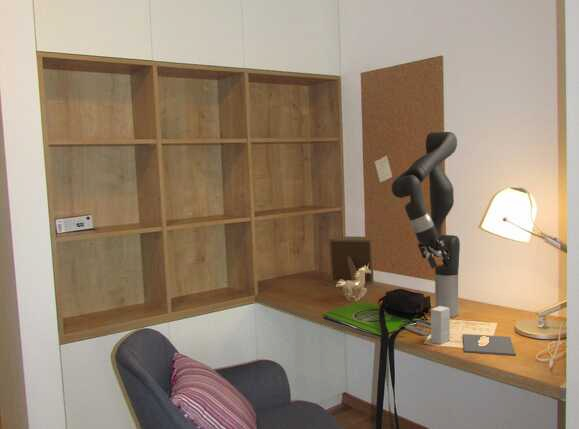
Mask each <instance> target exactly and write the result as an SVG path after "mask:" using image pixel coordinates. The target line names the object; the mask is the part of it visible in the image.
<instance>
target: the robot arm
mask: <svg viewBox="0 0 579 429" xmlns="http://www.w3.org/2000/svg"><path fill="white" fill-rule="evenodd" d="M457 147H458V140H457V136H456V134H455V133H453V132H452V131H451V132H450V131H436V132H433V131H432V132H429V133H428V134H427V136H426V138H425V152H426V153H425V154H423V155H422V156H420V157H418V158H417V159H416V160H415V161H414V162H413V163H412V164H411V166H409V168H408V169H406V171H404V172H403V173H401V174H400V175H399V176H397V177H396V178H395V179H394V180H393V181H392V184H391V193H392V194H393V195H394V197H396V198H398V199H401V198H406V197H409V200H410V201H409V202H408V203H405V206H404V209H405V212H406V214H407V217H408V220H409V221H410V225H411V228H412V230H413V232H414V234H415V237H416V239H417V241H418V243H417V246H418V250H419V251H420V254H421V257H422V258H423V259H426V260H427V261H428V263H429V266H430V267H431V269H434V308H436V307H438V306H443V307H447V308H449V309H450V318H454V317H457V316H458V315H459V267H460V265H459V264H460V246H461V243H460V239H459V236H458V235H453V234H451V235H450V234H442V227H443V224H444V222H445V220H446V218H447V216H448V215H449V214H450V211H451V210H452V208H453V206H454V202H455V201H454V186H453V184H452V182H451V180H450V179H449V177H448V176H447V175H446V173H445V171H444V169H443V167H442V163H443V162H444V161H445V160H446V159H448V158H449V157H450V156H452V155H453V154H454V153H455V151H456V149H457ZM427 177H429V179H428V180H429V201H430V204H429V205H430V214H429V212H428V209H427V207H426V205H425V202H424V196H423V190H422V189H423V188H422V185H421V183H423V182H424V180H425V179H426V178H427ZM434 257H438V258H440V259H441V261H442V264H437V262H436V260H435V258H434Z"/></svg>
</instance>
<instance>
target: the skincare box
mask: <svg viewBox="0 0 579 429" xmlns="http://www.w3.org/2000/svg"><path fill="white" fill-rule="evenodd" d="M450 318H451V317H450V309H449V308H447V307H443V306H438V307H436V308H435V307H434V308H431V309H430V323H431V328H430V331H431V334H430V342H431V343H434V344H438V345H443V344H444V343H446V342H449V341H450V338H451V335H450V334H451V333H450V331H451V330H450V328H451V322H450V320H451V319H450ZM448 340H449V341H448Z"/></svg>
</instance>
